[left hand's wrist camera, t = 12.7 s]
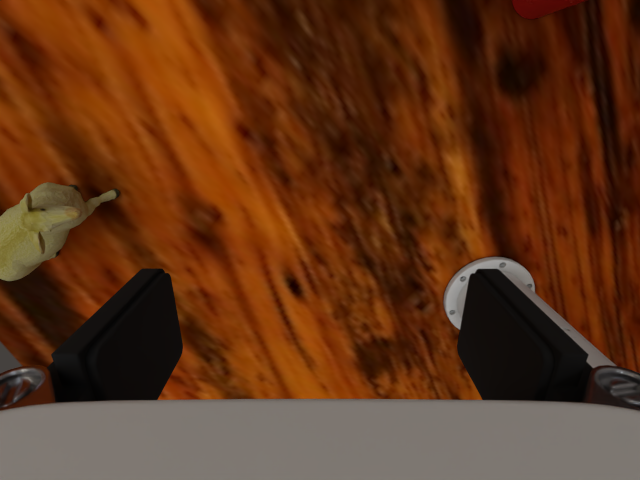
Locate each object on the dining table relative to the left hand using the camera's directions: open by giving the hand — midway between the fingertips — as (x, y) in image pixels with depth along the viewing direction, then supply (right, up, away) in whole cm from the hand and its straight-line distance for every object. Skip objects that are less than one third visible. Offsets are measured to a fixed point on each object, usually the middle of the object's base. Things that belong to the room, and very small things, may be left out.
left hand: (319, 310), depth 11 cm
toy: (-31, +6, +35) cm, 47 cm away
